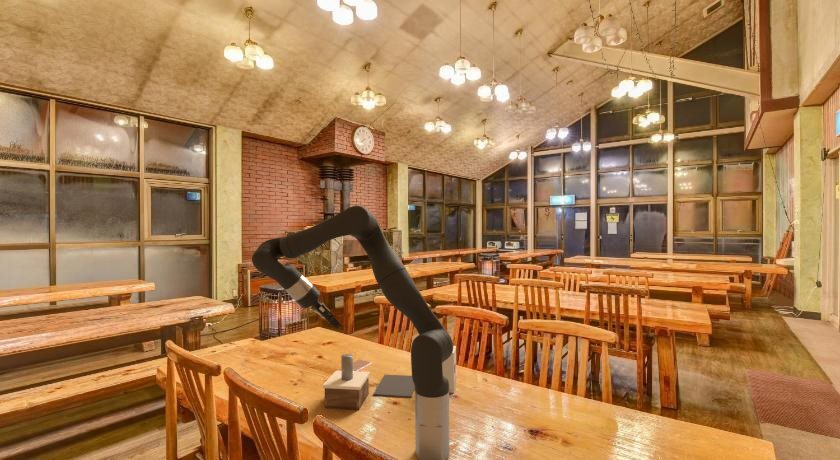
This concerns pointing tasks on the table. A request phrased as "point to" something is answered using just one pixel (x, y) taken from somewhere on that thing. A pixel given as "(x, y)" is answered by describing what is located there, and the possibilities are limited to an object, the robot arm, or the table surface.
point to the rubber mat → (395, 386)
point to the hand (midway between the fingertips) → (334, 323)
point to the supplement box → (450, 370)
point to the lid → (347, 376)
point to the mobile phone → (359, 365)
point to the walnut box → (346, 397)
